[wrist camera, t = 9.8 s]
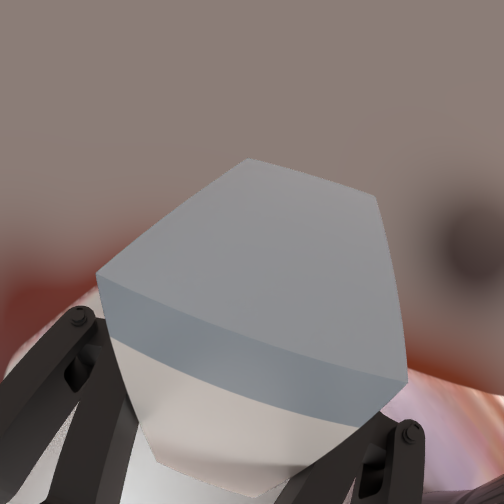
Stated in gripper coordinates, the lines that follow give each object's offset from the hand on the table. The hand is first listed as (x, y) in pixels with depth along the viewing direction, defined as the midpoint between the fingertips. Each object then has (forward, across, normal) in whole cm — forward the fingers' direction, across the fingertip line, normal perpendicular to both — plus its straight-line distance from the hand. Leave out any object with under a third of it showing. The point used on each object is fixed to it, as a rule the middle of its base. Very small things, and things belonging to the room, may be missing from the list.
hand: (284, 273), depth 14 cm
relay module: (-5, 0, -6) cm, 8 cm away
